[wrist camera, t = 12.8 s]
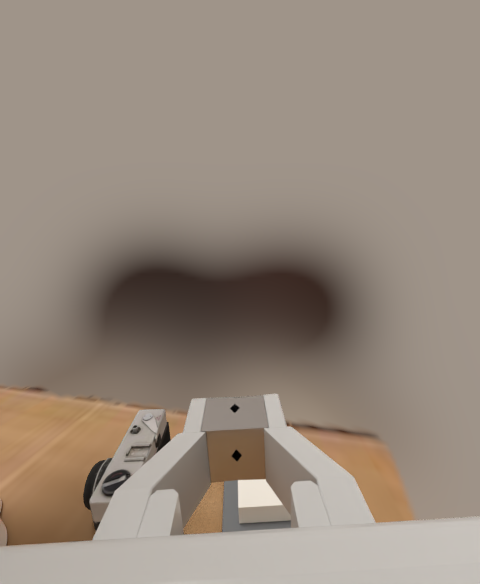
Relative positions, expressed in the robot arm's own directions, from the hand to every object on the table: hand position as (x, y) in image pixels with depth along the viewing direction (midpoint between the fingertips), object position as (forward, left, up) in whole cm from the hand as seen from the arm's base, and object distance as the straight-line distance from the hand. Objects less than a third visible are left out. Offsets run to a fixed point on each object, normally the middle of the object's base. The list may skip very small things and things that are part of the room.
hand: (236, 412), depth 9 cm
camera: (-15, +19, -28) cm, 37 cm away
